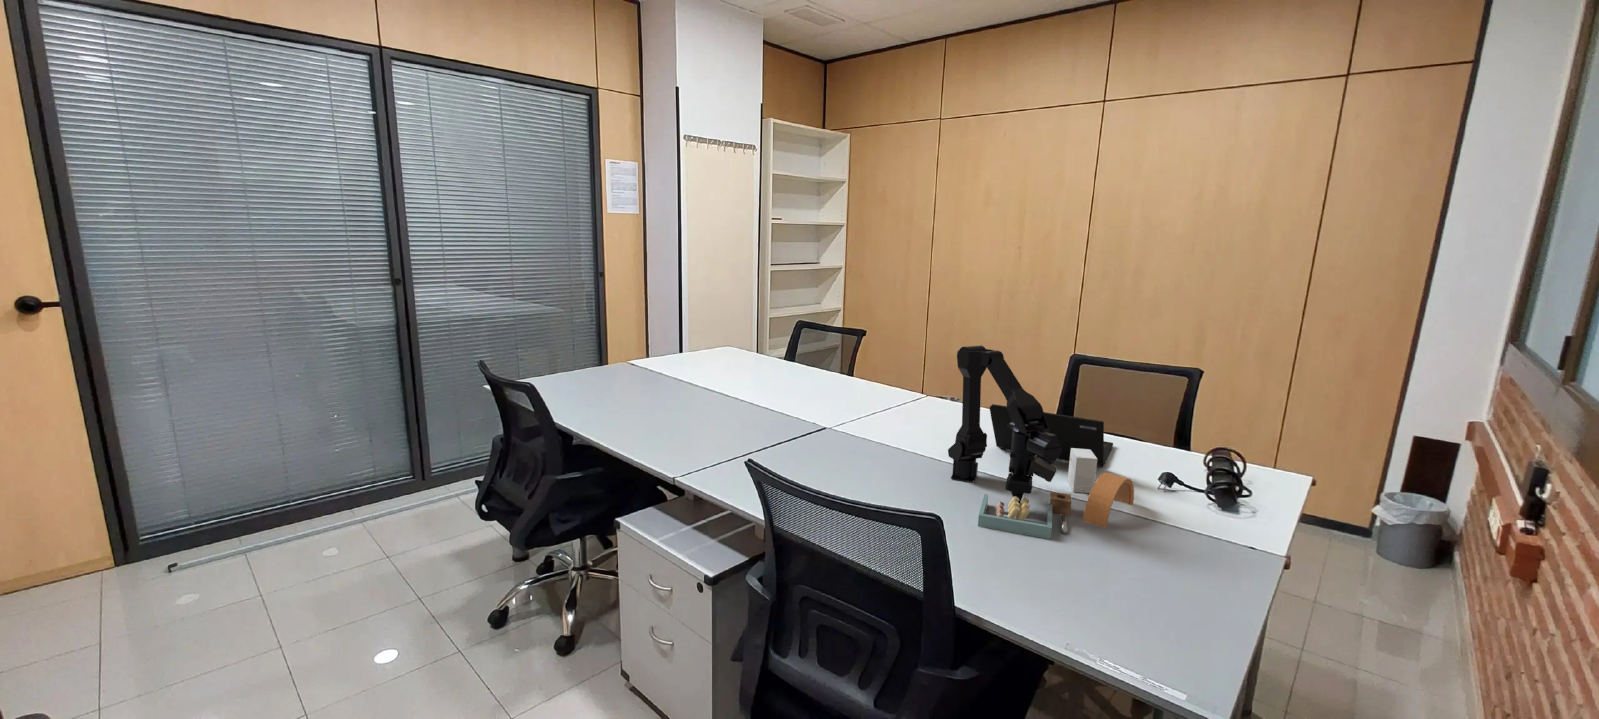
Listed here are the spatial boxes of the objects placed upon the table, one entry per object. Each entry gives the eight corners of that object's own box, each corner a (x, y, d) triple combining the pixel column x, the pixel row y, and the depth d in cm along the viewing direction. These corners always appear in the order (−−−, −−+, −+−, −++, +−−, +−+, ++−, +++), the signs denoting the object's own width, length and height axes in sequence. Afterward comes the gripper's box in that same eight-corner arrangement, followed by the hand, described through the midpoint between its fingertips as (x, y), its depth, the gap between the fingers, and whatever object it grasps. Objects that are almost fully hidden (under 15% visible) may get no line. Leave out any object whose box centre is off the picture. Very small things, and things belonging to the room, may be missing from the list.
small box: (1093, 494, 178) (1098, 459, 176) (1072, 492, 179) (1076, 457, 177) (1087, 482, 186) (1091, 449, 183) (1066, 481, 187) (1070, 447, 184)
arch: (1081, 520, 162) (1086, 484, 160) (1111, 497, 176) (1116, 464, 174) (1105, 528, 158) (1110, 491, 156) (1133, 504, 172) (1138, 470, 170)
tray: (977, 525, 158) (978, 514, 158) (983, 504, 171) (984, 493, 170) (1050, 539, 152) (1051, 527, 152) (1051, 515, 165) (1052, 504, 164)
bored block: (1049, 512, 166) (1050, 498, 165) (1049, 505, 171) (1051, 491, 170) (1069, 516, 164) (1071, 502, 163) (1069, 508, 169) (1071, 494, 168)
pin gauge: (1060, 533, 155) (1061, 528, 155) (1060, 519, 162) (1061, 514, 162) (1067, 534, 155) (1067, 529, 154) (1066, 520, 162) (1067, 515, 162)
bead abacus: (1029, 497, 164) (997, 492, 166) (1030, 509, 157) (997, 505, 159) (1028, 514, 165) (996, 509, 167) (1028, 527, 158) (995, 522, 161)
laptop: (1113, 448, 216) (1120, 393, 211) (1096, 485, 185) (1104, 422, 181) (1014, 429, 233) (1018, 378, 229) (983, 461, 202) (988, 402, 198)
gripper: (1056, 466, 152) (1049, 525, 156) (1056, 441, 169) (1050, 495, 173) (1007, 459, 156) (1002, 517, 160) (1012, 435, 173) (1007, 488, 177)
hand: (1017, 504), depth 167 cm, fingers closed
